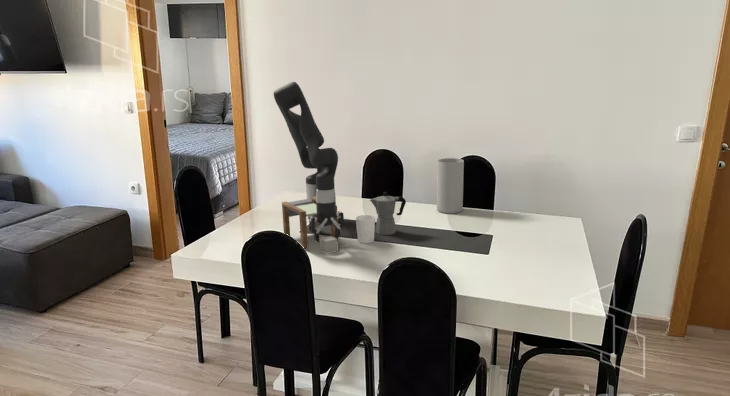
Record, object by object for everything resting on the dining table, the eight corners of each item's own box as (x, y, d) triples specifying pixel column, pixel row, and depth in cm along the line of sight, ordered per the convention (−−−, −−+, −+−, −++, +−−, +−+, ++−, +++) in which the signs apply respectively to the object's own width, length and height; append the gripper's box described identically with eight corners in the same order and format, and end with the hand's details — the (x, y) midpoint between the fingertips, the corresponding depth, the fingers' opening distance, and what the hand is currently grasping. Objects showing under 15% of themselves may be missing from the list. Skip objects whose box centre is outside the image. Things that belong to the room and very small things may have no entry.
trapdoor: (284, 214, 222) (283, 203, 221) (308, 209, 228) (307, 198, 227) (304, 225, 206) (304, 213, 205) (329, 220, 212) (329, 208, 210)
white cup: (377, 238, 216) (377, 215, 214) (372, 244, 209) (371, 221, 206) (360, 236, 219) (359, 214, 216) (353, 242, 211) (353, 219, 209)
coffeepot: (371, 235, 219) (370, 195, 215) (370, 229, 228) (369, 189, 224) (407, 234, 220) (407, 193, 215) (404, 227, 229) (404, 188, 224)
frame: (317, 230, 229) (315, 196, 225) (338, 241, 213) (337, 205, 209) (284, 237, 221) (281, 202, 217) (303, 249, 205) (301, 212, 201)
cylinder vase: (466, 209, 256) (467, 159, 250) (456, 215, 246) (457, 163, 240) (443, 205, 263) (443, 157, 256) (432, 211, 252) (433, 161, 246)
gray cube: (331, 247, 207) (330, 235, 206) (337, 251, 203) (337, 238, 202) (320, 250, 204) (319, 238, 203) (326, 253, 200) (325, 241, 199)
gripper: (337, 195, 205) (338, 234, 209) (304, 200, 198) (306, 240, 202) (346, 199, 199) (347, 239, 203) (313, 204, 192) (315, 246, 196)
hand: (327, 239), depth 202 cm, fingers open, 8 cm apart
